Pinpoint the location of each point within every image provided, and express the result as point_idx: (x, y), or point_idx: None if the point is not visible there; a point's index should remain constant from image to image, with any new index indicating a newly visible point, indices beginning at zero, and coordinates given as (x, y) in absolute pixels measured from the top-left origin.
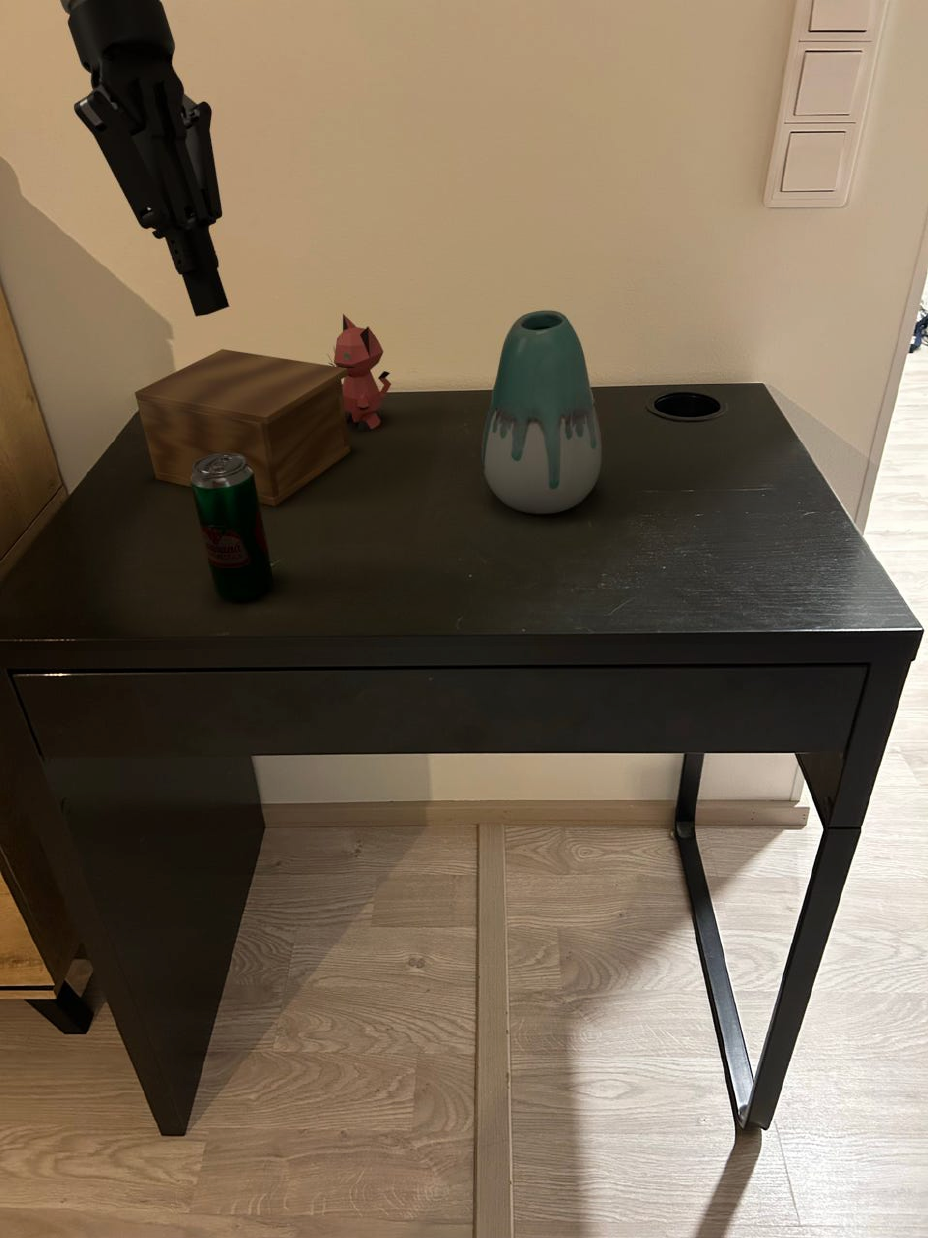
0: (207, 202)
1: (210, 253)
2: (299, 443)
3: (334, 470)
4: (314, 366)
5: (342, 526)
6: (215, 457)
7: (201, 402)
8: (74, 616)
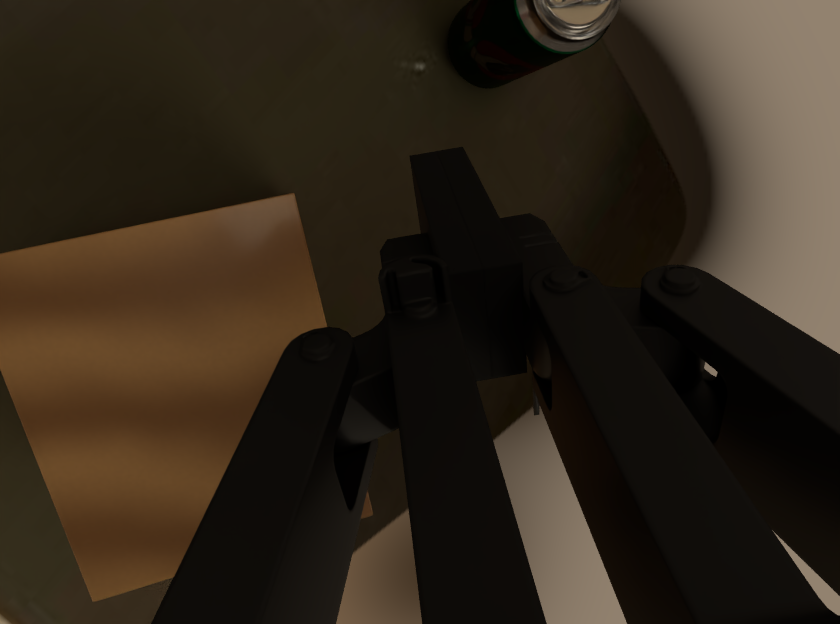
0: (348, 391)
1: (440, 223)
2: None
3: (128, 222)
4: (12, 339)
5: (268, 53)
6: (564, 14)
7: None
8: (636, 192)
